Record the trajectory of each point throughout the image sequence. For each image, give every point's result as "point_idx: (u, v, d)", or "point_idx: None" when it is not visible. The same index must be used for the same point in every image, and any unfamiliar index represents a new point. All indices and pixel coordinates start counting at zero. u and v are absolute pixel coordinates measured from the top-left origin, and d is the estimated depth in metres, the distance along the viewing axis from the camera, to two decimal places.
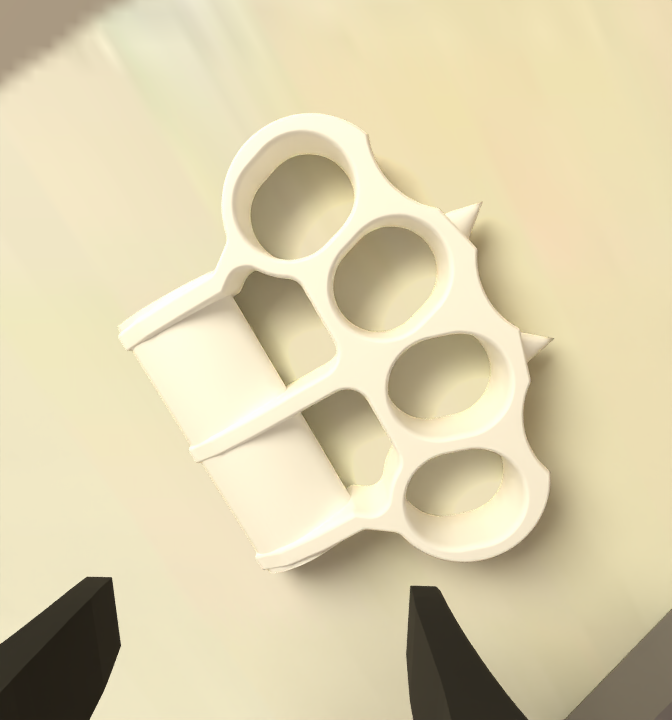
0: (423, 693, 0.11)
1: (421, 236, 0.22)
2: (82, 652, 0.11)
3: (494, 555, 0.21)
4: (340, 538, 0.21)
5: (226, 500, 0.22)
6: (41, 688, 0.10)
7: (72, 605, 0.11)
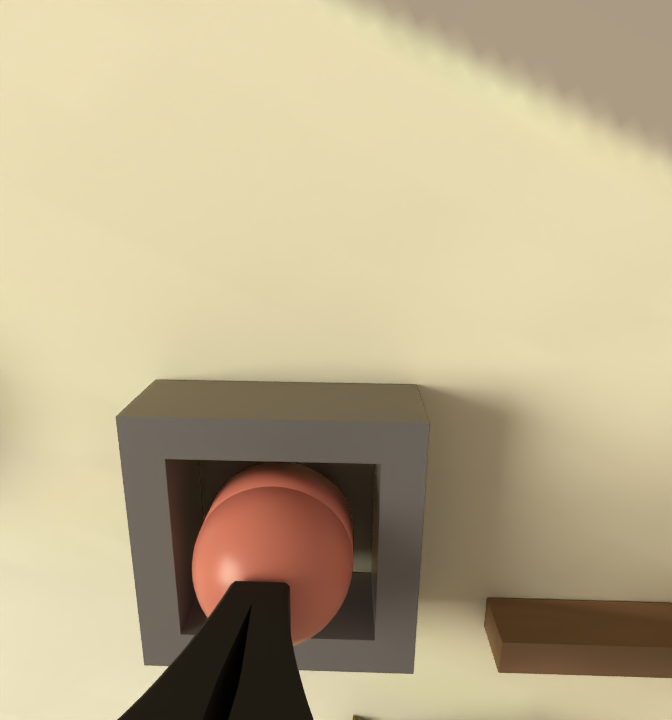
0: None
1: None
2: None
3: None
4: None
5: None
6: (227, 694, 0.10)
7: (237, 610, 0.11)
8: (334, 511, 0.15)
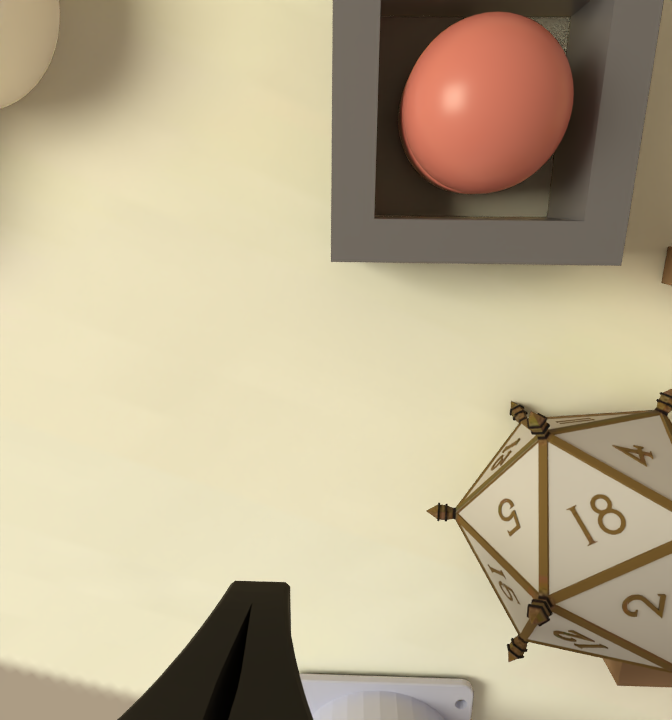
0: None
1: None
2: None
3: None
4: None
5: None
6: (227, 694, 0.10)
7: (237, 610, 0.11)
8: None
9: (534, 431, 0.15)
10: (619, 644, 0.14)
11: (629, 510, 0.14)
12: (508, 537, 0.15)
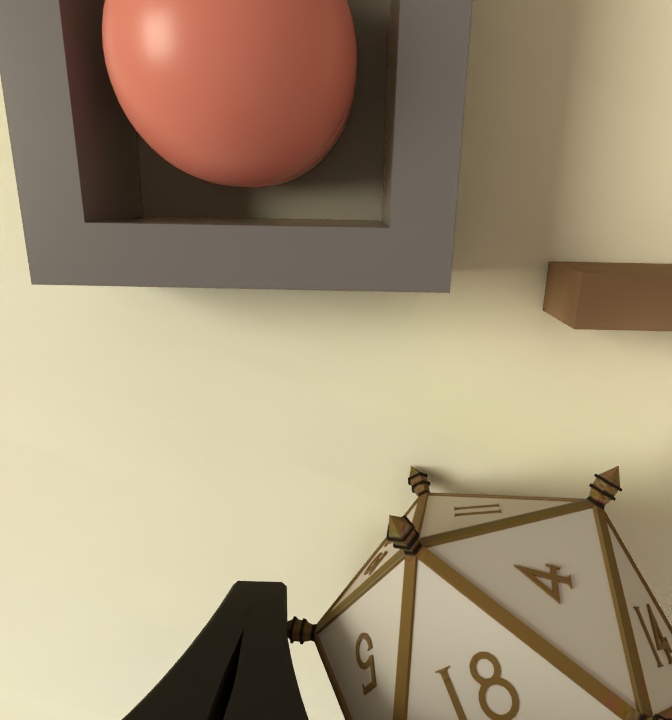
0: None
1: None
2: None
3: None
4: None
5: None
6: (231, 694, 0.10)
7: (241, 610, 0.11)
8: None
9: (396, 544, 0.10)
10: None
11: (525, 683, 0.09)
12: (362, 695, 0.10)
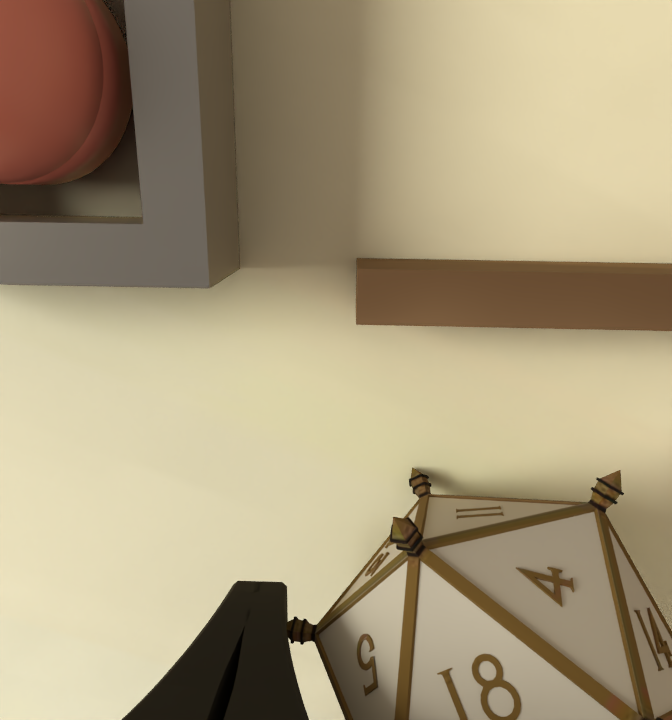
0: None
1: None
2: None
3: None
4: None
5: None
6: (230, 694, 0.10)
7: (240, 610, 0.11)
8: None
9: (400, 545, 0.10)
10: None
11: (527, 685, 0.09)
12: (364, 696, 0.10)
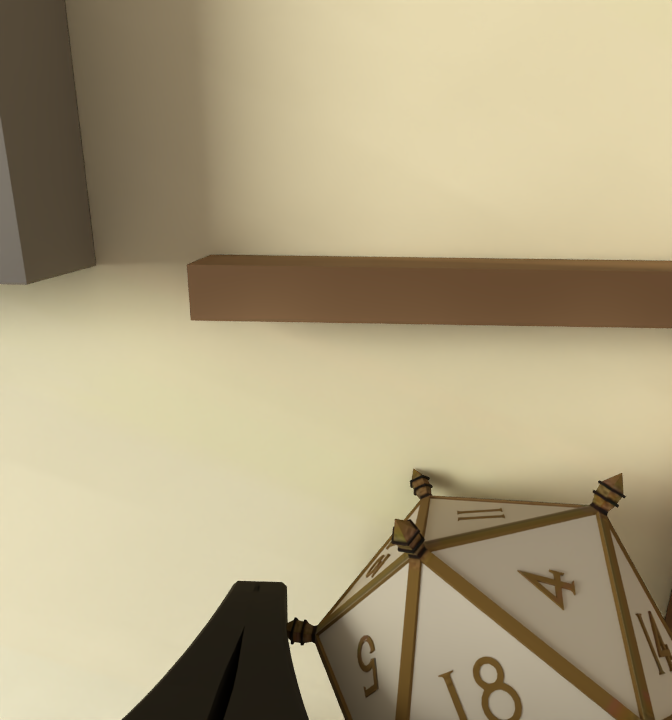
0: None
1: None
2: None
3: None
4: None
5: None
6: (230, 694, 0.10)
7: (240, 610, 0.11)
8: None
9: (401, 547, 0.10)
10: None
11: (528, 688, 0.09)
12: (364, 698, 0.10)
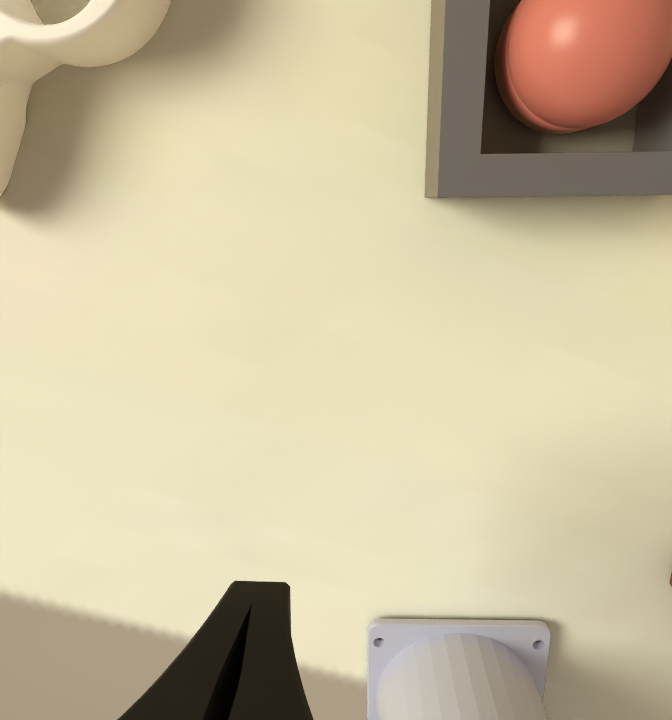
0: None
1: None
2: None
3: None
4: None
5: None
6: (227, 694, 0.10)
7: (237, 610, 0.11)
8: None
9: None
10: None
11: None
12: None
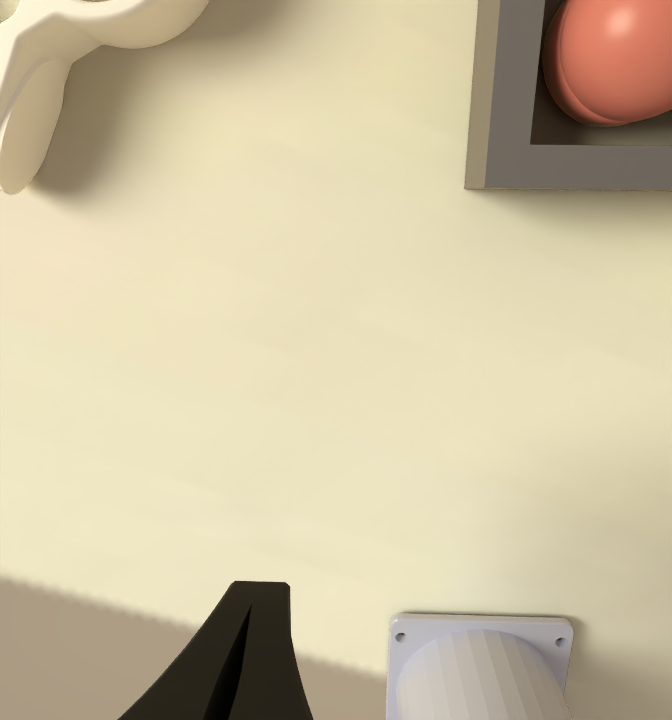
0: None
1: None
2: None
3: None
4: (4, 69, 0.16)
5: None
6: (227, 694, 0.10)
7: (237, 610, 0.11)
8: None
9: None
10: None
11: None
12: None
